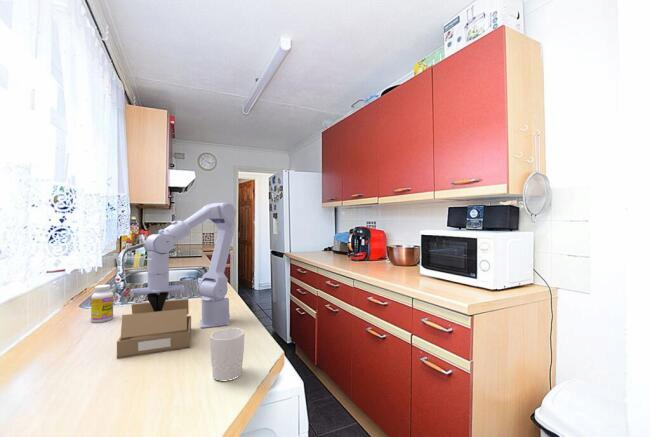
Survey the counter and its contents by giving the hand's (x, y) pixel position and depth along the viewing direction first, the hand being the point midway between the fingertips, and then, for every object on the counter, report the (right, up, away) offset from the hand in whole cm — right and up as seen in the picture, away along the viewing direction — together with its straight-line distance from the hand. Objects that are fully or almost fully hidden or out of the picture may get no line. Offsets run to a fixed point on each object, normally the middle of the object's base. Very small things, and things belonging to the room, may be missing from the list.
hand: (158, 317), depth 93 cm
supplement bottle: (-32, -8, +21) cm, 39 cm away
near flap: (+2, +1, -6) cm, 7 cm away
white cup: (+27, -8, -20) cm, 35 cm away
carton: (0, -8, 0) cm, 8 cm away
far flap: (-3, +1, +7) cm, 7 cm away
